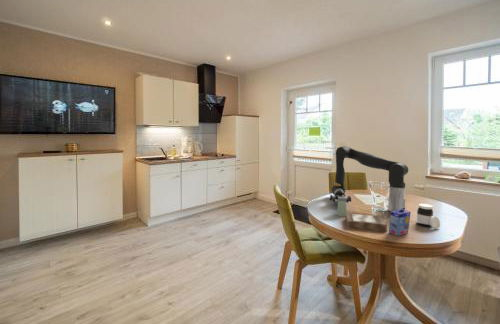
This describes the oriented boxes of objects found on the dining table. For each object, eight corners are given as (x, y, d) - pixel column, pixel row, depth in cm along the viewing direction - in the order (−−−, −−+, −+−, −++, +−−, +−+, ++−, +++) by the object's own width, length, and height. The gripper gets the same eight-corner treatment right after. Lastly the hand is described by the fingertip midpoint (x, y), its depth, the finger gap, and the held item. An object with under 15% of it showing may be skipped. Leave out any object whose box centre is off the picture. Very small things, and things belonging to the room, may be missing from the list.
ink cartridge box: (398, 236, 132) (400, 209, 130) (388, 232, 137) (389, 207, 135) (409, 233, 136) (411, 207, 134) (399, 229, 141) (401, 204, 139)
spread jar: (417, 220, 154) (418, 202, 153) (440, 224, 147) (442, 205, 146) (414, 226, 145) (416, 207, 144) (439, 231, 138) (441, 210, 137)
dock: (381, 222, 151) (381, 215, 151) (386, 231, 138) (387, 224, 138) (345, 219, 157) (346, 212, 156) (347, 227, 144) (348, 220, 143)
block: (345, 214, 166) (346, 196, 165) (345, 216, 163) (346, 198, 161) (337, 213, 168) (338, 196, 166) (337, 215, 164) (338, 198, 162)
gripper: (329, 189, 192) (330, 195, 176) (349, 190, 188) (352, 196, 172) (329, 199, 193) (330, 205, 177) (349, 200, 189) (351, 206, 173)
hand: (340, 200), depth 175 cm, fingers open, 8 cm apart
